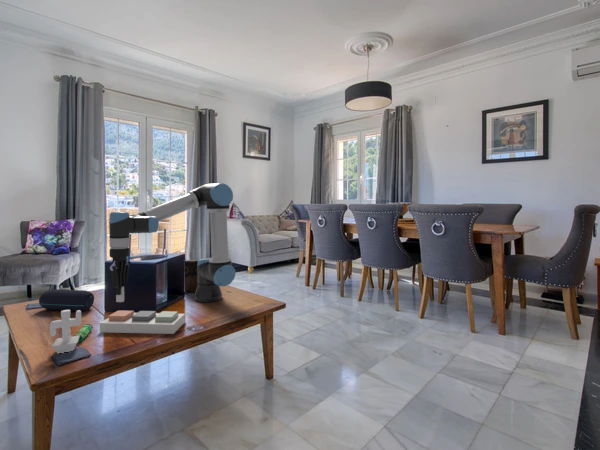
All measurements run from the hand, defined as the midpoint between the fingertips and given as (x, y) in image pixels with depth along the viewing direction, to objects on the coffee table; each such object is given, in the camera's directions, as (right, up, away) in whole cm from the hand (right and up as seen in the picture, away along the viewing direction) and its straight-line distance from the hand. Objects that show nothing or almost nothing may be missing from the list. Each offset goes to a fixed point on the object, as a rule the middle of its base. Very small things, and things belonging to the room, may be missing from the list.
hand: (120, 301), depth 140 cm
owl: (+14, -8, +59) cm, 61 cm away
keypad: (+10, -11, +1) cm, 15 cm away
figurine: (-7, -13, -22) cm, 26 cm away
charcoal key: (+10, -8, +1) cm, 13 cm away
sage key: (+20, -9, 0) cm, 22 cm away
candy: (-9, -12, -10) cm, 18 cm away
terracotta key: (0, -8, +1) cm, 8 cm away
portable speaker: (-38, -10, +22) cm, 45 cm away
